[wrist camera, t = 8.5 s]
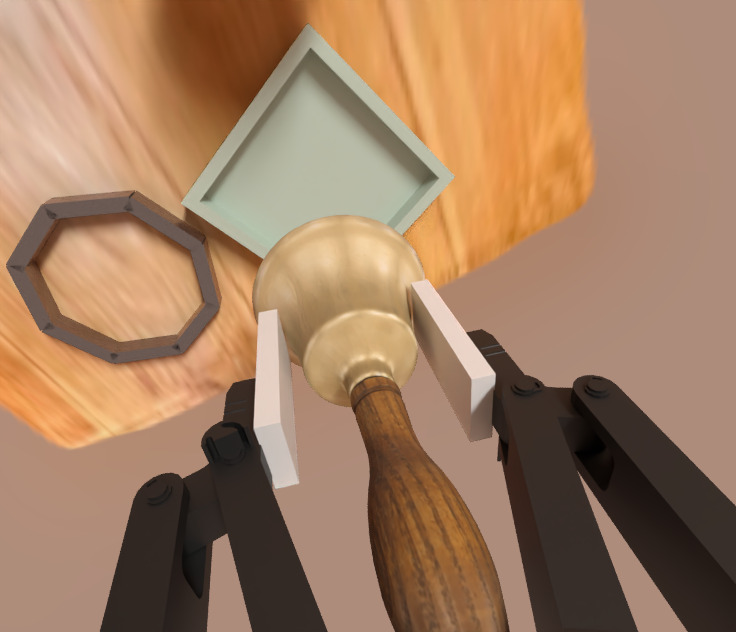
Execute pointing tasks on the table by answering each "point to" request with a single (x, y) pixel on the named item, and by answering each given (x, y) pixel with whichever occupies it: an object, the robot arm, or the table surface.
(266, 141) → the green square tray
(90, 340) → the collar
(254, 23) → the table surface
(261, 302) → the hand bell
